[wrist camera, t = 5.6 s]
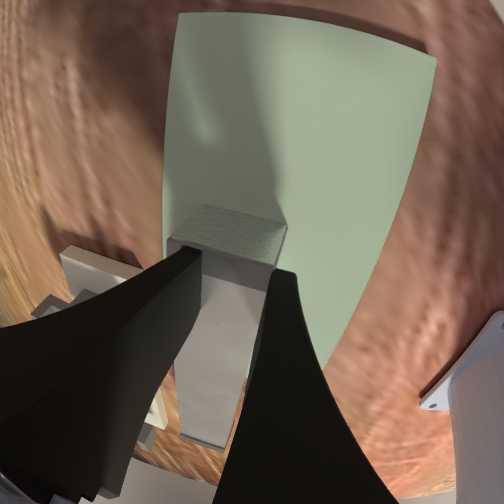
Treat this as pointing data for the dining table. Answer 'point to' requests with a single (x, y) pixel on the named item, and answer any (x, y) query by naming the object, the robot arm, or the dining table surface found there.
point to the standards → (92, 284)
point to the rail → (222, 316)
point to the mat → (296, 143)
